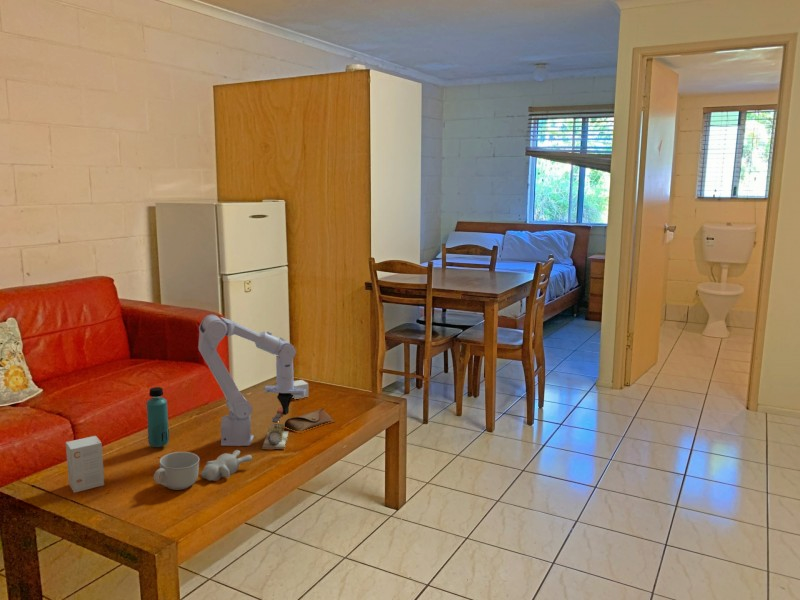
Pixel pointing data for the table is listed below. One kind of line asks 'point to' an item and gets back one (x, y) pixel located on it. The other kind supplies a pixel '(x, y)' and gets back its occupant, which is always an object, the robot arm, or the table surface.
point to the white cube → (301, 385)
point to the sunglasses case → (308, 420)
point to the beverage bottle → (157, 418)
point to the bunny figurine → (223, 466)
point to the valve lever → (278, 415)
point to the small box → (85, 463)
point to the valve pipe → (275, 433)
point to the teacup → (178, 470)
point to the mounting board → (279, 445)
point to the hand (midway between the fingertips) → (285, 413)
